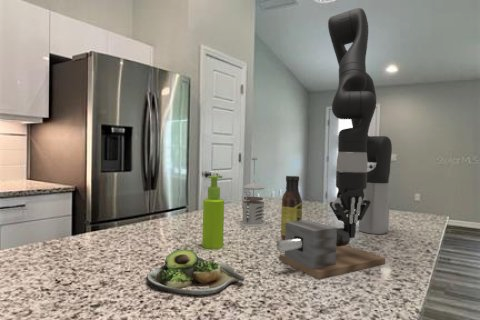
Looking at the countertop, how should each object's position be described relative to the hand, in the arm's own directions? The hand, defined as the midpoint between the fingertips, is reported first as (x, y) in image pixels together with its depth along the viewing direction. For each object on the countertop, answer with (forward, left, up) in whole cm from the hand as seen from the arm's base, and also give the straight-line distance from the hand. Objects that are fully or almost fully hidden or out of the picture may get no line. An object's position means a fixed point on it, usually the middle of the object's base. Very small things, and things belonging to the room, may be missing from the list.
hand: (349, 237), depth 88 cm
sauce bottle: (+2, -21, -6) cm, 22 cm away
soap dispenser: (+26, -26, -6) cm, 37 cm away
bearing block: (+6, 0, -6) cm, 8 cm away
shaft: (+12, 0, -2) cm, 12 cm away
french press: (+1, -45, -6) cm, 46 cm away
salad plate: (+41, -6, -6) cm, 42 cm away
